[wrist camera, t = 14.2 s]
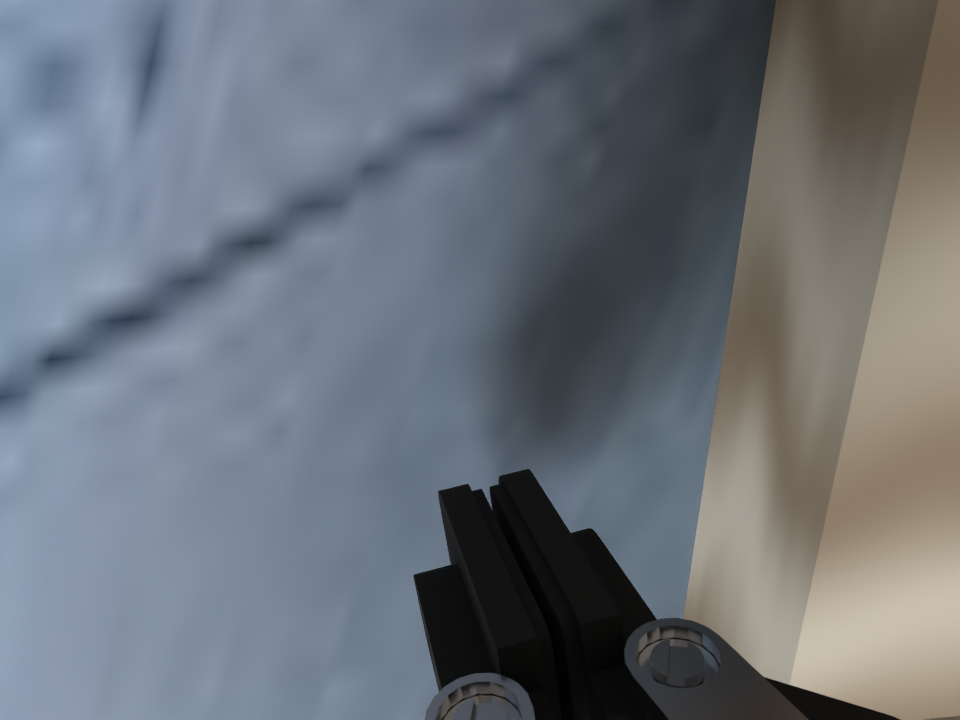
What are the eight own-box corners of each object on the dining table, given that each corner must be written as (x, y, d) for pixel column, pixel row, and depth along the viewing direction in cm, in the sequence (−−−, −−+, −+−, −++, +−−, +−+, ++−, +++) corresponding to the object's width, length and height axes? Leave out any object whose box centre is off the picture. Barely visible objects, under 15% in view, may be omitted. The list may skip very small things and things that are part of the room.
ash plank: (785, -152, 12) (995, -265, 8) (1058, -116, 13) (1343, -200, 10) (656, 740, 19) (743, 894, 15) (849, 703, 20) (972, 836, 16)
